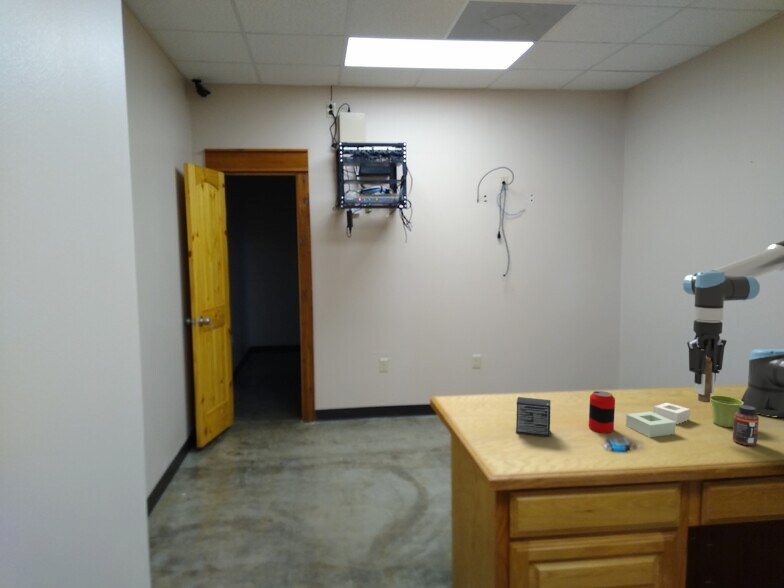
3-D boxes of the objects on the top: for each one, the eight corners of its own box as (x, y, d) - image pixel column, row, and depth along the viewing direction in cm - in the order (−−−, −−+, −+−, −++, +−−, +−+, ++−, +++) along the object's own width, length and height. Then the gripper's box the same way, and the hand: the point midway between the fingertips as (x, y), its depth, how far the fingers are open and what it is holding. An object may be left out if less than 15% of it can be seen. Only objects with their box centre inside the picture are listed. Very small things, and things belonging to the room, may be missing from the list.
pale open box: (650, 422, 159) (650, 411, 159) (674, 434, 150) (675, 422, 149) (625, 425, 157) (626, 414, 156) (649, 437, 147) (650, 425, 147)
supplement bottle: (757, 448, 139) (760, 411, 138) (733, 444, 142) (736, 408, 141) (755, 441, 144) (758, 406, 143) (731, 437, 147) (734, 402, 146)
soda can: (594, 422, 159) (595, 388, 158) (617, 428, 154) (618, 393, 153) (584, 428, 154) (586, 393, 153) (608, 435, 149) (610, 399, 148)
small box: (550, 430, 153) (551, 399, 152) (549, 437, 147) (551, 405, 146) (517, 426, 157) (517, 395, 156) (515, 433, 151) (516, 402, 149)
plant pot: (743, 424, 158) (745, 399, 157) (739, 432, 151) (741, 406, 150) (710, 417, 164) (712, 393, 163) (705, 424, 157) (707, 400, 157)
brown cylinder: (703, 398, 151) (705, 356, 149) (712, 401, 148) (714, 358, 146) (695, 399, 150) (697, 357, 148) (704, 402, 147) (706, 359, 145)
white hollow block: (666, 413, 168) (666, 402, 168) (689, 420, 162) (690, 409, 161) (653, 417, 164) (654, 406, 164) (676, 424, 157) (677, 413, 157)
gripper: (716, 317, 152) (713, 386, 154) (677, 320, 148) (674, 392, 150) (739, 320, 145) (735, 393, 147) (698, 324, 140) (694, 399, 143)
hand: (704, 392), depth 149 cm, fingers closed on brown cylinder, 3 cm apart
